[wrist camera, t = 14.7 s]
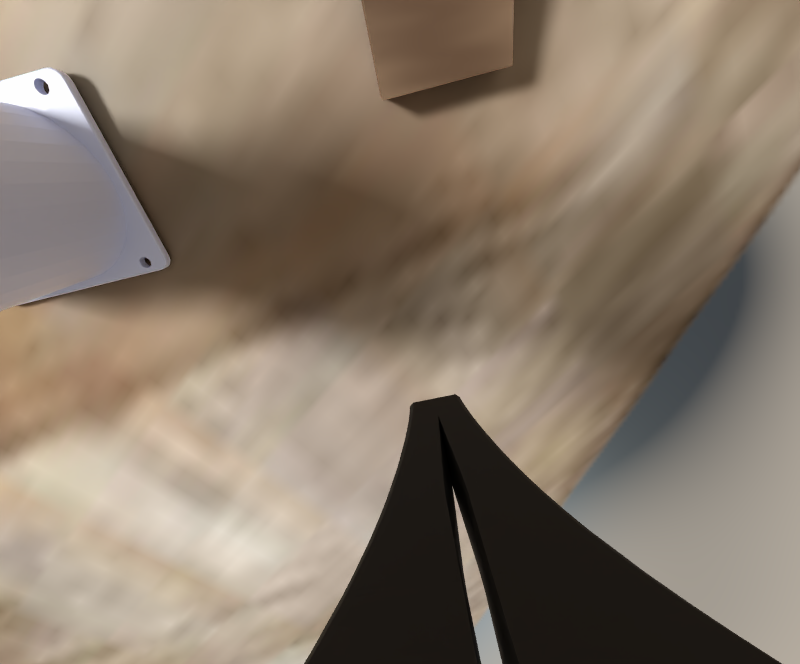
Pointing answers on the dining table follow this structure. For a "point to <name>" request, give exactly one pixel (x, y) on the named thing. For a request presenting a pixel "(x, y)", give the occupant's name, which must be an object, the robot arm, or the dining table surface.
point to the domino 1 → (437, 41)
